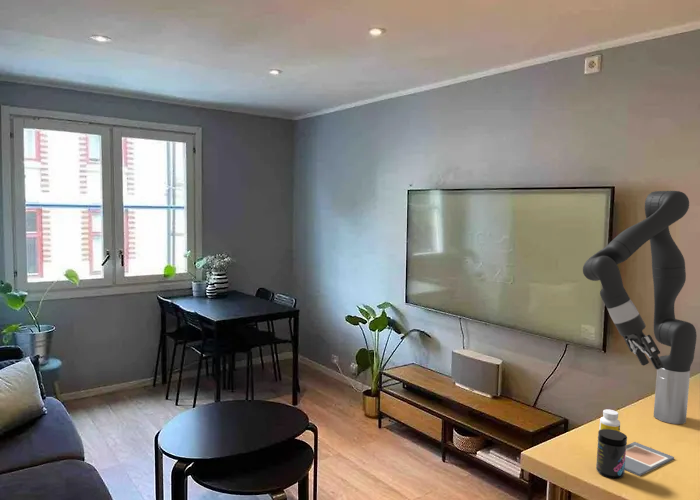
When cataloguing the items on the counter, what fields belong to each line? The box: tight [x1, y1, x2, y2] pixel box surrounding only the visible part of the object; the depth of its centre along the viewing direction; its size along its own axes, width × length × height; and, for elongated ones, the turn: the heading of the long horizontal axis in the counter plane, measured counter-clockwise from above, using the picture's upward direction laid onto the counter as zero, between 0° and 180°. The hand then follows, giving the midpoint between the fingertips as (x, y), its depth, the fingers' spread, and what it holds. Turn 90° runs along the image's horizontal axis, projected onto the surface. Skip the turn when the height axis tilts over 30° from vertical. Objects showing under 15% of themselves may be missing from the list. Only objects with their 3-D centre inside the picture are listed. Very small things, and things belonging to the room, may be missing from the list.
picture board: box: [625, 441, 675, 477], centre depth 147 cm, size 18×11×1 cm, turn 124°
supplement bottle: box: [598, 408, 621, 432], centre depth 155 cm, size 5×5×10 cm
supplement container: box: [595, 429, 628, 480], centre depth 138 cm, size 7×7×10 cm
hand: (652, 366), depth 159 cm, fingers open, 8 cm apart
